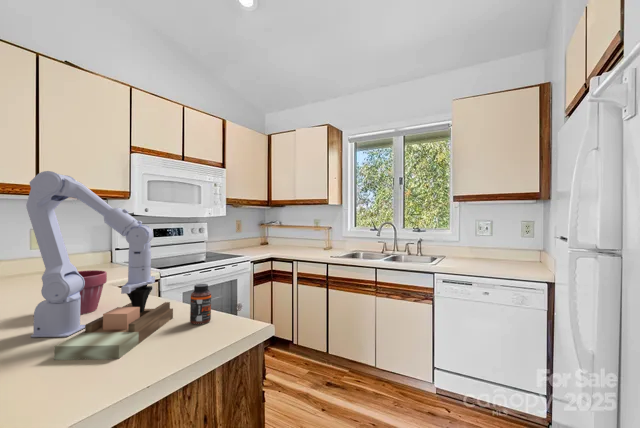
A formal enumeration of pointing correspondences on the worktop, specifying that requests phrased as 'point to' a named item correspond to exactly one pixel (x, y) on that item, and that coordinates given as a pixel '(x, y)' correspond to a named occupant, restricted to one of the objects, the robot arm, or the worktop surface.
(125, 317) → the block
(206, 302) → the supplement bottle
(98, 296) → the plant pot
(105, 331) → the chute
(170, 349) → the worktop surface
